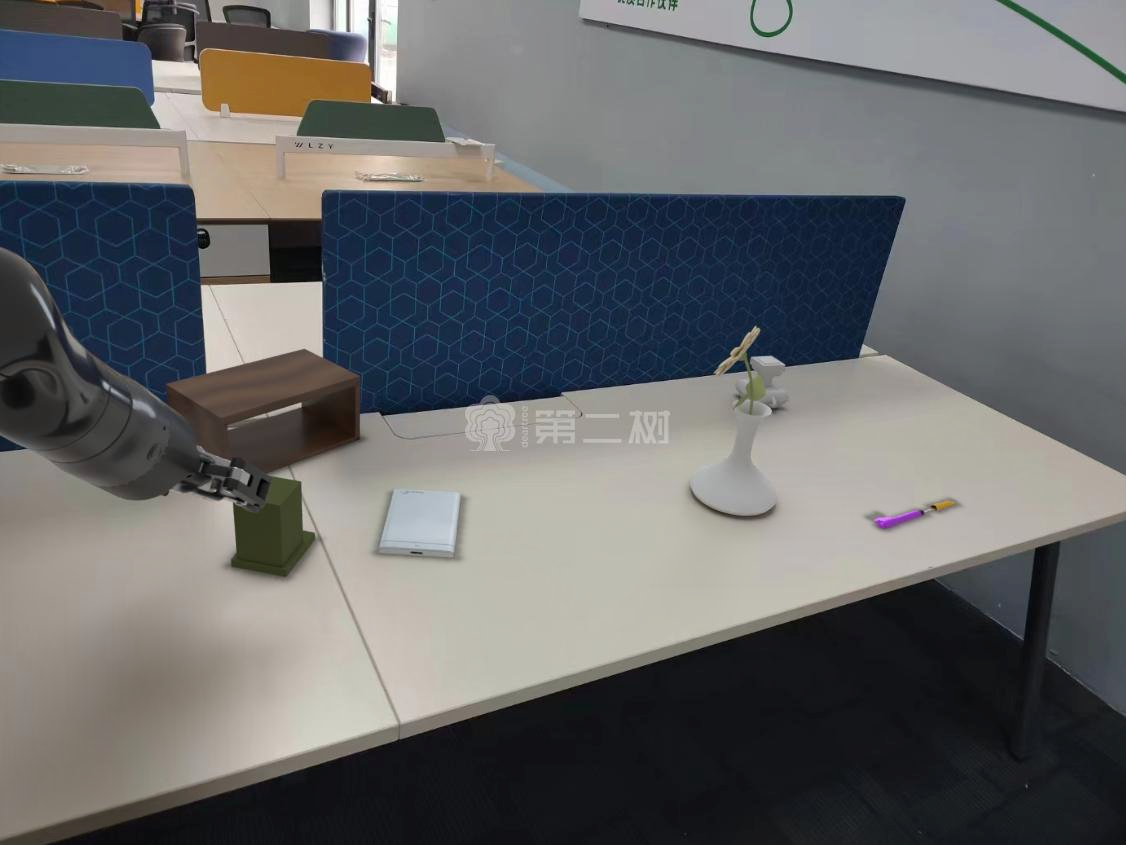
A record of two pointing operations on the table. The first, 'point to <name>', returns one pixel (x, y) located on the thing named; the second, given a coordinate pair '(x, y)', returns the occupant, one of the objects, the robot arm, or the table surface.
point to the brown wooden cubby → (271, 409)
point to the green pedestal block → (272, 531)
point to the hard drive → (421, 523)
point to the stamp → (766, 381)
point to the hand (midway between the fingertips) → (212, 493)
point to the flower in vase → (739, 453)
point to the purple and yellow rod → (909, 515)
